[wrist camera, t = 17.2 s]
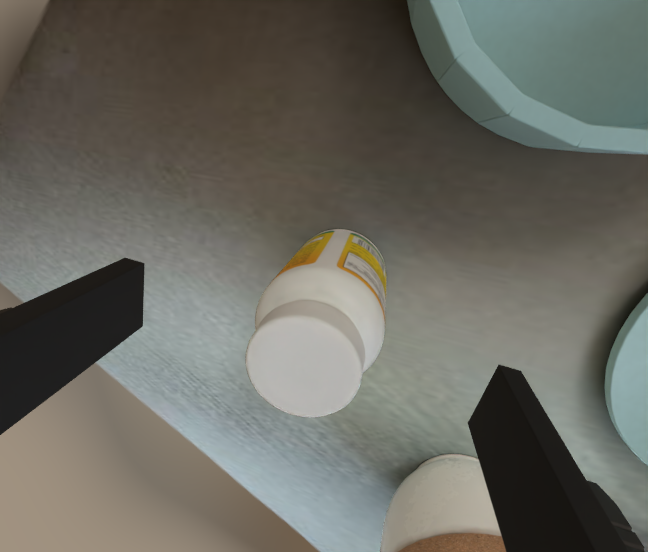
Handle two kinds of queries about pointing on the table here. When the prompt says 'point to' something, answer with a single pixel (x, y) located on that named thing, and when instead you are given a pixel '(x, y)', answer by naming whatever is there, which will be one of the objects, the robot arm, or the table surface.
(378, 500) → the table surface
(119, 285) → the robot arm
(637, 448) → the pan lid
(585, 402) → the table surface
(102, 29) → the table surface
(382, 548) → the trinket box
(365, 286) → the supplement bottle
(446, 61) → the pan
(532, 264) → the table surface
